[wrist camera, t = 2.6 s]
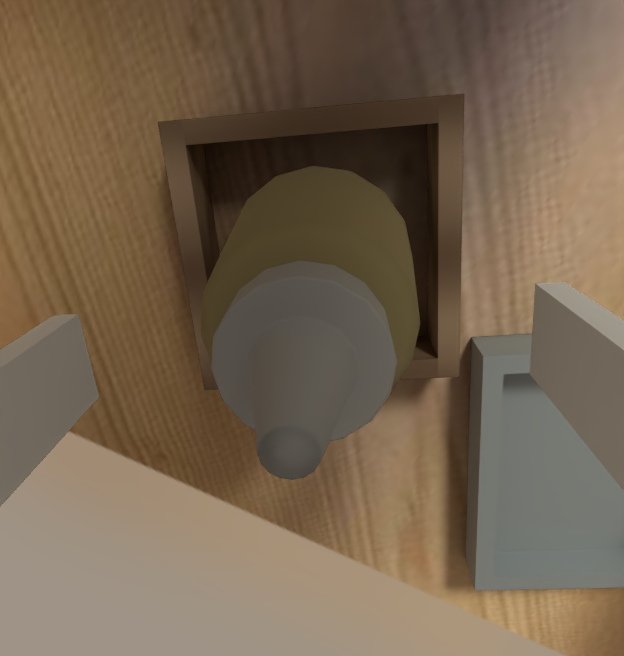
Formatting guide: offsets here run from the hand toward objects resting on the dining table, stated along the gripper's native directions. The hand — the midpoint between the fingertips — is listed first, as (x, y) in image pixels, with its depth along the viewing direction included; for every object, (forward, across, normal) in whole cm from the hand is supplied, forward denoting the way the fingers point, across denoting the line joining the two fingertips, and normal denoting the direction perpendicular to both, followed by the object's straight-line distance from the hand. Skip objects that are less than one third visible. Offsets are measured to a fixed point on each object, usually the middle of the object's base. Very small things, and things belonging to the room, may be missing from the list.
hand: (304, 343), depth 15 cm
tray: (+12, +15, -12) cm, 23 cm away
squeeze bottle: (+12, 0, 0) cm, 12 cm away
